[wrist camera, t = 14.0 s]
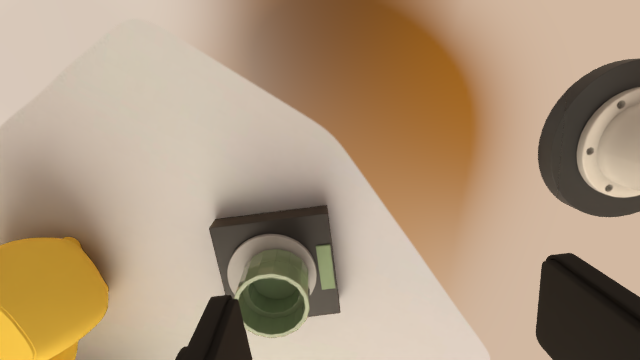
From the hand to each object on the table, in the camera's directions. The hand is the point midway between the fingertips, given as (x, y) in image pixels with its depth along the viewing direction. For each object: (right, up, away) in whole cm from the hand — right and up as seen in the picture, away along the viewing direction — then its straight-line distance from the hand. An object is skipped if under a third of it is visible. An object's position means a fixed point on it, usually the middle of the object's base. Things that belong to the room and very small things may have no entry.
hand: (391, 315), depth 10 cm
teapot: (-33, -8, +29) cm, 45 cm away
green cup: (-7, -7, +26) cm, 28 cm away
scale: (-7, -6, +29) cm, 30 cm away
